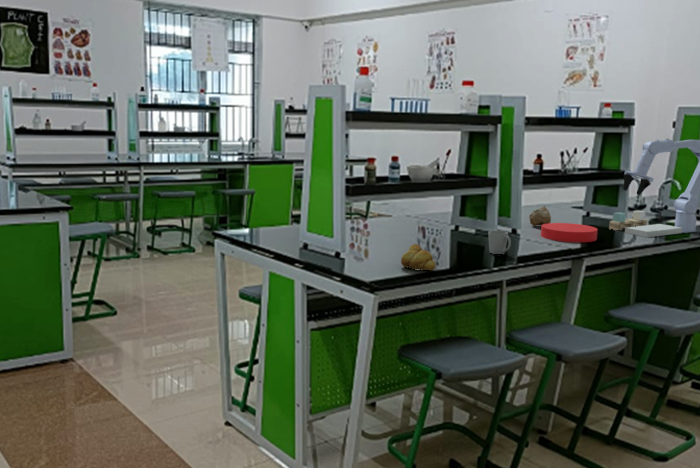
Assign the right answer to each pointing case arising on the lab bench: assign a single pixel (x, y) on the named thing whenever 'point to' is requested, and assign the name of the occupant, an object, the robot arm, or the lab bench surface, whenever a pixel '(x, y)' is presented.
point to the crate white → (639, 215)
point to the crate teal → (619, 217)
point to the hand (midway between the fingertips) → (631, 192)
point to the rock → (540, 217)
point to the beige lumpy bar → (627, 224)
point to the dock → (653, 230)
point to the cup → (498, 242)
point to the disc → (569, 232)
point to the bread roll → (418, 258)
